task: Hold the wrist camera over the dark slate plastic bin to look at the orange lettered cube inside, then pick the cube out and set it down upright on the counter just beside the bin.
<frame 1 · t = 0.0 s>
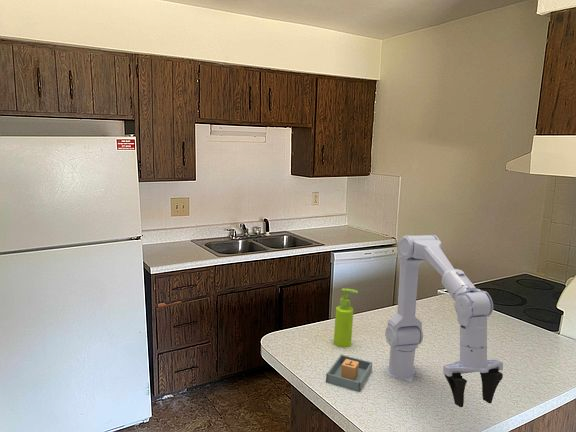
hand: (473, 403, 99), 11 cm above the countertop, tool pointing down, fingers open, 7 cm apart
soap dispenser: (343, 345, 148), on the countertop
letter cube: (349, 375, 128), resting on bin
bin: (349, 377, 128), on the countertop
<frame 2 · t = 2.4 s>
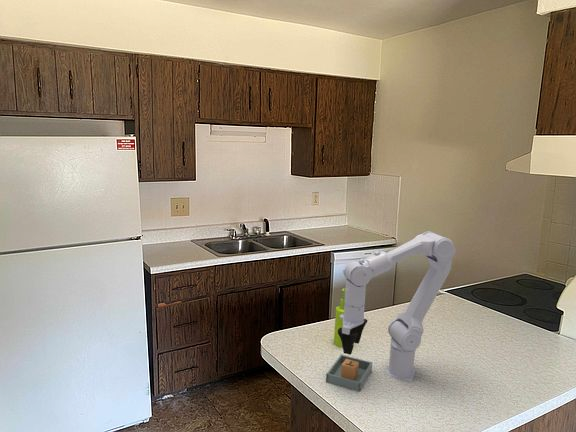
hand: (351, 347, 126), 9 cm above the countertop, tool pointing down, fingers open, 7 cm apart
nothing on the countertop moved.
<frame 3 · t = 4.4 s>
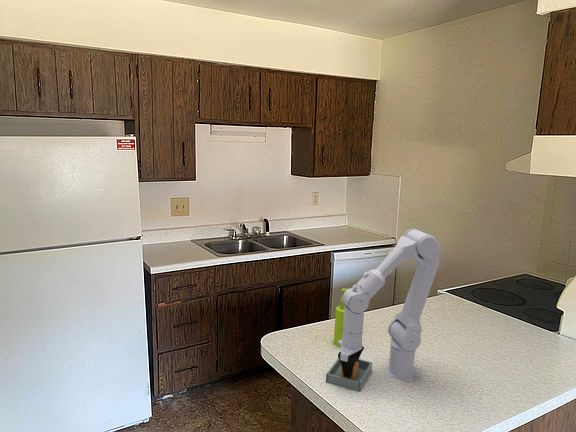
hand: (349, 373, 127), 1 cm above the countertop, tool pointing down, fingers closed on letter cube, 4 cm apart
letter cube: (349, 375, 128), resting on bin, touching gripper
everything else where it was.
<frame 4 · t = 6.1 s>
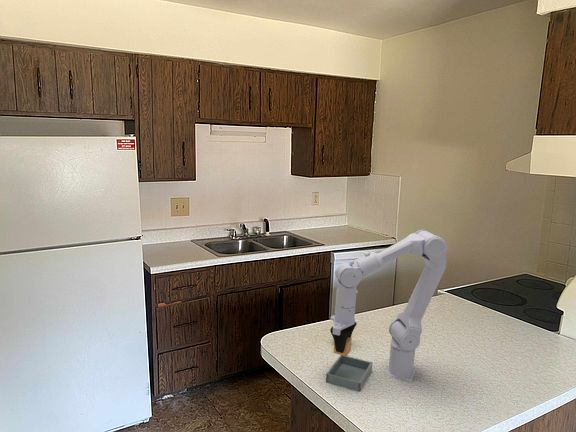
hand: (342, 348, 127), 9 cm above the countertop, tool pointing down, fingers closed on letter cube, 4 cm apart
letter cube: (342, 351, 127), point 8 cm above the countertop, touching gripper
everything else where it was.
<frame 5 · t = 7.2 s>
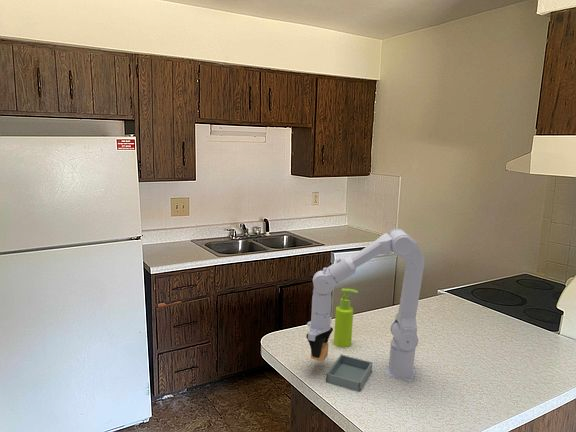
hand: (318, 353, 131), 5 cm above the countertop, tool pointing down, fingers closed on letter cube, 4 cm apart
letter cube: (319, 357, 131), point 4 cm above the countertop, touching gripper
everything else where it was.
when the fingers open (2 cm above the countertop, at t = 8.1 s): letter cube drops 1 cm, on the countertop.
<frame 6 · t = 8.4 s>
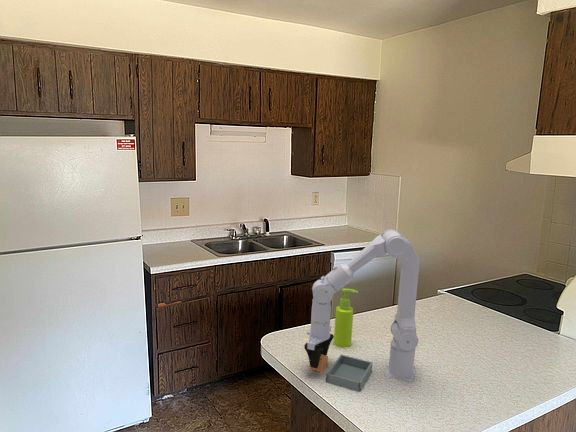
hand: (318, 362, 131), 2 cm above the countertop, tool pointing down, fingers open, 6 cm apart
letter cube: (318, 369, 132), on the countertop
everything else where it was.
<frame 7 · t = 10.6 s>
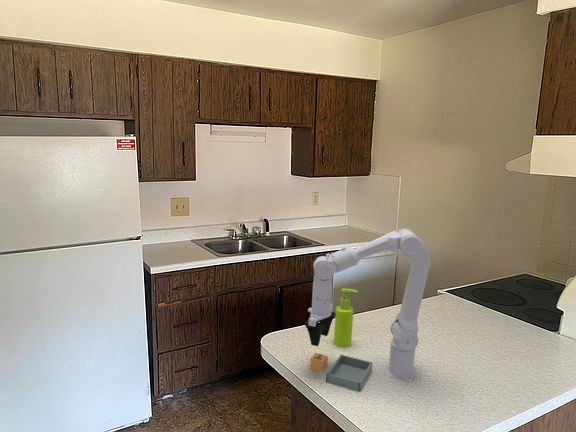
hand: (319, 339, 130), 9 cm above the countertop, tool pointing down, fingers open, 7 cm apart
nothing on the countertop moved.
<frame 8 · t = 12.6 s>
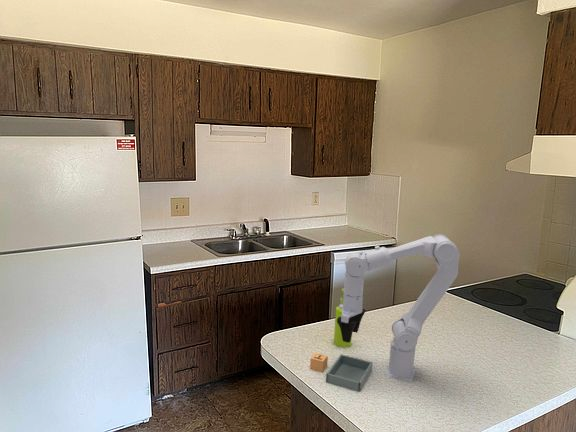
hand: (350, 336, 131), 10 cm above the countertop, tool pointing down, fingers open, 7 cm apart
nothing on the countertop moved.
at the end: letter cube inside the target area (0.2 cm from its centre), on the countertop; letter cube tilted 0°; the gripper is holding nothing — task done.
